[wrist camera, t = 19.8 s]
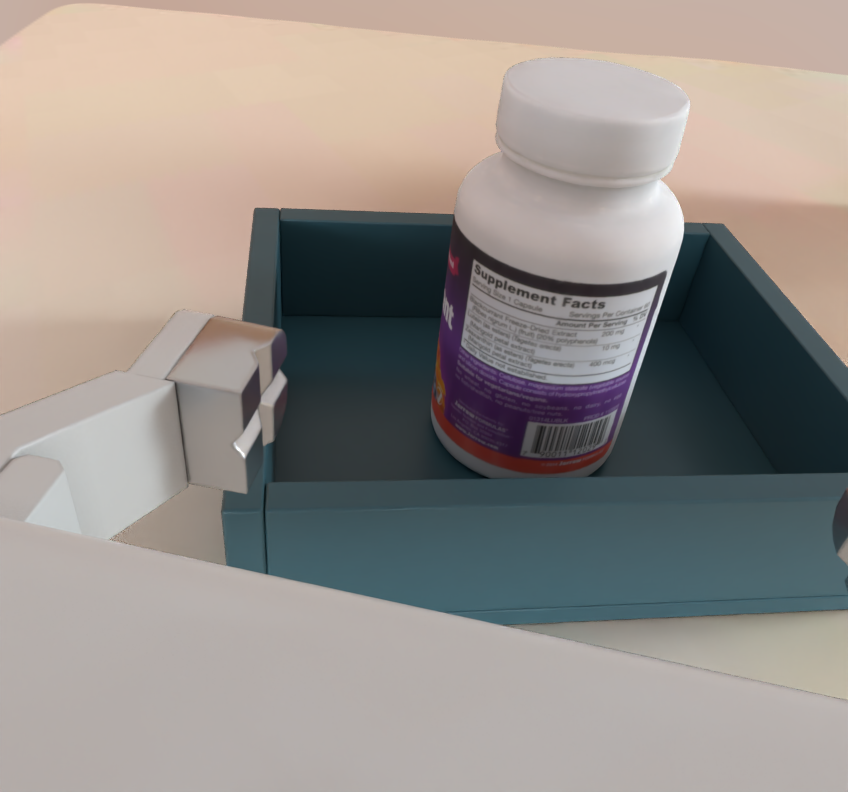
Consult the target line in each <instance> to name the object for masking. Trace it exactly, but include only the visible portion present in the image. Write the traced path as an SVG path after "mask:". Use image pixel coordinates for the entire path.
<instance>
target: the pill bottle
mask: <svg viewBox="0 0 848 792" xmlns="http://www.w3.org/2000/svg"><path fill="white" fill-rule="evenodd" d="M689 110H690V100H689V98H688V95H687V94H686V93H685V92H684V91H683V90H682V89H681V88H680V87H678V86H677V85H675V84H673V83H672V82H670V81H668V80H666V79H665V78H662V77H660V76H657V75H655V74H652V73H649V72H646V71H643V70H640V69H637V68H633V67H629V66H625V65H621V64H617V63H612V62H607V61H600V60H592V59H581V58H563V57H560V58H540V59H534V60H529V61H525V62H521V63H519V64H516V65H514V66H512V67H511V68H510V69H508V70H507V72H506V73H505V76H504V79H503V85H502V91H501V97H500V102H499V107H498V114H497V121H496V129H497V132H496V143H497V146H498V147H499V149H500V150H501V152H498V153H496V154H493V155H491V156H489V157H487V158H485V159H484V160H482V161H481V162H479V163H478V164H477V165H476V166H474V167H473V168H472V169H471V170H470V171H469V172H468V174H467V175H466V177H465V178H464V180H463V182H462V183H461V185H460V187H459V190H458V194H457V198H456V204H455V210H454V217H453V223H452V231H451V239H450V249H449V258H448V266H447V274H446V282H445V290H444V300H443V307H442V315H441V323H440V331H439V339H438V348H437V356H436V364H435V371H434V379H433V386H432V400H431V419H432V423H433V427H434V430H435V432H436V434H437V436H438V438H439V440H440V442H441V443H442V444H443V446H444V447H445V448H446V450H447V451H448V452H449V453H450V454H451V455H452V456H453V457H454V458H455V459H456V460H458V461H459V462H460V463H462V464H463V465H465V466H466V467H468V468H470V469H471V470H473V471H475V472H477V473H479V474H481V475H483V476H485V477H488V478H490V479H494V478H556V477H587V476H589V475H590V474H592V473H593V472H594V471H596V470H597V469H598V468H599V467H600V466H601V465H602V464H603V463H604V462H605V461H606V459H607V458H608V456H609V455H610V453H611V451H612V449H613V447H614V444H615V441H616V439H617V436H618V433H619V430H620V428H621V425H622V422H623V419H624V416H625V413H626V410H627V407H628V404H629V401H630V397H631V394H632V391H633V388H634V385H635V382H636V379H637V376H638V373H639V370H640V367H641V364H642V361H643V358H644V355H645V352H646V349H647V346H648V343H649V340H650V337H651V334H652V331H653V328H654V325H655V322H656V319H657V316H658V313H659V310H660V307H661V304H662V301H663V298H664V295H665V292H666V289H667V286H668V283H669V280H670V277H671V274H672V271H673V268H674V266H675V263H676V260H677V257H678V253H679V250H680V247H681V243H682V240H683V234H684V219H683V213H682V210H681V207H680V205H679V202H678V200H677V198H676V197H675V195H674V194H673V192H672V191H671V190H670V189H669V188H668V186H667V185H666V184H665V183H663V182H662V181H661V180H660V179H661V178H663V177H664V176H666V175H667V174H668V173H669V172H670V171H671V169H672V167H673V164H674V161H675V160H676V158H677V155H678V153H679V149H680V145H681V141H682V137H683V133H684V130H685V126H686V122H687V118H688V114H689Z"/></svg>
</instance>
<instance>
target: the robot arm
mask: <svg viewBox="0 0 848 792" xmlns="http://www.w3.org/2000/svg"><path fill="white" fill-rule="evenodd" d="M286 356H287V338H286V334H285V332H284V331H283V329H278V328H273V327H269V326H264V325H259V324H255V323H250V322H245V321H240V320H236V319H231V318H226V317H222V316H214V315H211V314H206V313H201V312H196V311H191V310H186V309H183V310H180V311H177V312H175V313H174V314H173V316H172V317H171V318H170V319H169V320H168V322H167V323H166V324H165V325H164V327H163V328H162V329H161V330H160V331H159V333H158V334H157V335H156V336H155V337H154V339H153V340H152V341H151V342H150V344H149V345H148V346H147V347H146V348H145V350H144V351H143V352H142V353H141V354H140V356H139V357H138V358H137V359H136V361H135V362H134V363H133V364H132V365H131V367H130V368H129V369H128V370H127V371H126V372H122V371H117V370H115V371H113V372H110V373H108V374H105V375H102V376H100V377H97V378H95V379H92V380H89V381H87V382H84V383H82V384H79V385H77V386H74V387H71V388H69V389H66V390H64V391H61V392H58V393H56V394H53V395H51V396H48V397H45V398H43V399H40V400H38V401H35V402H33V403H30V404H27V405H25V406H22V407H20V408H17V409H14V410H12V411H9V412H7V413H4V414H2V415H0V792H848V700H844V699H839V698H835V697H830V696H825V695H821V694H816V693H812V692H807V691H803V690H798V689H793V688H789V687H784V686H780V685H775V684H771V683H766V682H761V681H757V680H752V679H748V678H743V677H739V676H734V675H729V674H725V673H720V672H716V671H711V670H707V669H702V668H697V667H693V666H688V665H684V664H679V663H675V662H670V661H665V660H661V659H656V658H651V657H647V656H642V655H638V654H633V653H628V652H624V651H619V650H614V649H610V648H605V647H600V646H596V645H591V644H587V643H582V642H577V641H573V640H568V639H563V638H559V637H554V636H549V635H545V634H540V633H536V632H531V631H526V630H522V629H517V628H512V627H508V626H503V625H499V624H494V623H489V622H485V621H480V620H475V619H471V618H466V617H461V616H457V615H452V614H448V613H443V612H438V611H434V610H429V609H424V608H420V607H415V606H411V605H406V604H401V603H397V602H392V601H387V600H383V599H378V598H374V597H369V596H364V595H360V594H355V593H350V592H346V591H341V590H337V589H332V588H327V587H323V586H318V585H314V584H309V583H304V582H300V581H295V580H290V579H286V578H281V577H277V576H272V575H267V574H263V573H258V572H254V571H249V570H244V569H240V568H235V567H230V566H226V565H221V564H217V563H212V562H207V561H203V560H198V559H193V558H189V557H184V556H180V555H175V554H170V553H166V552H161V551H157V550H152V549H147V548H143V547H138V546H133V545H129V544H124V543H120V542H115V541H110V540H109V539H111V538H112V537H114V536H115V535H117V534H118V533H120V532H121V531H123V530H124V529H126V528H127V527H129V526H130V525H132V524H133V523H135V522H136V521H138V520H139V519H141V518H142V517H144V516H145V515H147V514H148V513H150V512H151V511H153V510H154V509H156V508H157V507H159V506H160V505H162V504H163V503H165V502H166V501H168V500H169V499H171V498H172V497H174V496H175V495H177V494H178V493H180V492H181V491H183V490H184V489H186V488H187V487H188V484H193V485H198V486H204V487H209V488H215V489H220V490H226V491H231V492H237V493H243V494H247V493H248V491H249V489H250V487H251V485H252V483H253V481H254V479H255V477H256V475H257V473H258V472H259V470H260V468H261V466H262V464H263V446H265V445H267V444H269V443H271V442H273V441H274V440H275V438H276V436H277V434H278V432H279V430H280V428H281V424H282V421H283V417H284V414H285V410H286V404H287V396H288V379H287V378H286V376H285V375H284V374H283V372H282V371H281V370H280V367H281V365H282V363H283V362H284V360H285V358H286ZM832 534H833V542H834V546H835V550H836V554H837V555H838V556H839V557H840V558H841V559H842V560H843V561H844V562H845V563H846V564H847V565H848V488H846V490H845V491H844V493H843V495H842V497H841V499H840V500H839V502H838V504H837V506H836V510H835V514H834V519H833V523H832ZM845 584H846V588H847V591H848V576H847V578H846V579H845Z"/></svg>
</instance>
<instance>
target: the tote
mask: <svg viewBox="0 0 848 792" xmlns="http://www.w3.org/2000/svg"><path fill="white" fill-rule="evenodd" d="M453 217H454V214H430V213H401V212H373V211H345V210H316V209H288V208H281V209H280V210H279V209H277V208H255V209H254V214H253V223H252V233H251V242H250V251H249V260H248V269H247V279H246V288H245V297H244V306H243V315H242V321H245V322H250V323H255V324H259V325H264V326H269V327H273V328H278V329H283V331H284V332H285V334H286V338H287V356H286V358H285V360H284V362H283V363H282V365H281V367H280V370H281V371H282V372H283V374H284V375H285V376H286V378H287V379H288V396H287V404H286V410H285V414H284V417H283V421H282V424H281V428H280V430H279V432H278V434H277V436H276V438H275V440H274V441H273V442H271V443H269V444H267V445H265V446H263V464H262V466H261V468H260V470H259V472H258V473H257V475H256V477H255V479H254V481H253V483H252V485H251V487H250V489H249V491H248V493H247V494H243V493H237V492H231V491H226V490H224V491H223V500H222V509H221V514H222V524H223V535H224V545H225V555H226V565H227V566H230V567H235V568H240V569H244V570H249V571H254V572H258V573H263V574H267V575H272V576H277V577H281V578H286V579H290V580H295V581H300V582H304V583H309V584H314V585H318V586H323V587H327V588H332V589H337V590H341V591H346V592H350V593H355V594H360V595H364V596H369V597H374V598H378V599H383V600H387V601H392V602H397V603H401V604H406V605H411V606H415V607H420V608H424V609H429V610H434V611H438V612H443V613H448V614H452V615H457V616H461V617H466V618H471V619H475V620H480V621H485V622H489V623H494V624H499V625H509V624H532V623H554V622H576V621H598V620H620V619H643V618H665V617H687V616H709V615H731V614H754V613H776V612H798V611H820V610H843V609H848V591H847V588H846V584H845V579H846V578H847V576H848V565H847V564H846V563H845V562H844V561H843V560H842V559H841V558H840V557H839V556H838V555H837V554H836V550H835V546H834V542H833V534H832V523H833V519H834V514H835V510H836V506H837V504H838V502H839V500H840V499H841V497H842V495H843V493H844V491H845V490H846V488H848V368H847V366H846V365H845V364H844V363H843V362H842V361H841V359H840V358H839V357H838V356H837V355H836V354H835V353H834V351H833V350H832V349H831V348H830V347H829V346H828V344H827V343H826V342H825V341H824V340H823V339H822V338H821V336H820V335H819V334H818V333H817V332H816V331H815V329H814V328H813V327H812V326H811V325H810V324H809V322H808V321H807V320H806V319H805V318H804V317H803V316H802V314H801V313H800V312H799V311H798V310H797V309H796V307H795V306H794V305H793V304H792V303H791V302H790V300H789V299H788V298H787V297H786V296H785V295H784V294H783V292H782V291H781V290H780V289H779V288H778V287H777V285H776V284H775V283H774V282H773V281H772V280H771V279H770V277H769V276H768V275H767V274H766V273H765V272H764V270H763V269H762V268H761V267H760V266H759V265H758V263H757V262H756V261H755V260H754V259H753V258H752V257H751V255H750V254H749V253H748V252H747V251H746V250H745V248H744V247H743V246H742V245H741V244H740V243H739V242H738V240H737V239H736V238H735V237H734V236H733V235H732V233H731V232H730V231H729V230H728V229H727V228H726V226H725V225H724V224H715V223H702V224H701V223H685V222H684V234H683V240H682V243H681V247H680V250H679V253H678V257H677V260H676V263H675V266H674V268H673V271H672V274H671V277H670V280H669V283H668V286H667V289H666V292H665V295H664V298H663V301H662V304H661V307H660V310H659V313H658V316H657V319H656V322H655V325H654V328H653V331H652V334H651V337H650V340H649V343H648V346H647V349H646V352H645V355H644V358H643V361H642V364H641V367H640V370H639V373H638V376H637V379H636V382H635V385H634V388H633V391H632V394H631V397H630V401H629V404H628V407H627V410H626V413H625V416H624V419H623V422H622V425H621V428H620V430H619V433H618V436H617V439H616V441H615V444H614V447H613V449H612V451H611V453H610V455H609V456H608V458H607V459H606V461H605V462H604V463H603V464H602V465H601V466H600V467H599V468H598V469H597V470H596V471H594V472H593V473H592V474H590V475H589V476H587V477H556V478H494V479H490V478H488V477H485V476H483V475H481V474H479V473H477V472H475V471H473V470H471V469H470V468H468V467H466V466H465V465H463V464H462V463H460V462H459V461H458V460H456V459H455V458H454V457H453V456H452V455H451V454H450V453H449V452H448V451H447V450H446V448H445V447H444V446H443V444H442V443H441V442H440V440H439V438H438V436H437V434H436V432H435V430H434V427H433V423H432V419H431V400H432V386H433V379H434V371H435V364H436V356H437V348H438V339H439V331H440V323H441V315H442V307H443V300H444V290H445V282H446V274H447V266H448V258H449V249H450V239H451V231H452V223H453Z"/></svg>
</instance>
